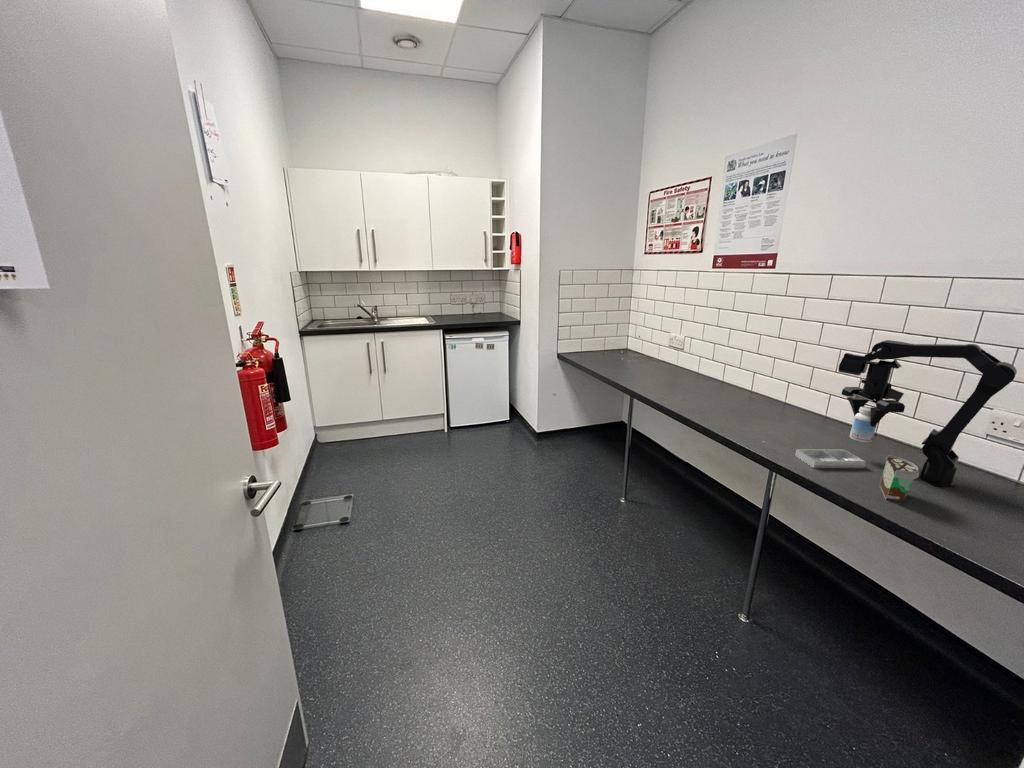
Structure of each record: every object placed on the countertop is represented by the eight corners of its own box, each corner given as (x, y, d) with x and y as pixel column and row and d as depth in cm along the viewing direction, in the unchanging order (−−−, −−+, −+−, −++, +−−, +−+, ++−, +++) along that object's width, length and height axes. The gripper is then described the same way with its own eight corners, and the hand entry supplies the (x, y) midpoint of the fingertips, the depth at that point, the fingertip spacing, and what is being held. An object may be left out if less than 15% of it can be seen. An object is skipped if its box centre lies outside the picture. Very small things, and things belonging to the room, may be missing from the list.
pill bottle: (875, 444, 139) (885, 412, 136) (855, 442, 140) (863, 410, 137) (865, 436, 145) (873, 406, 141) (845, 435, 146) (853, 404, 143)
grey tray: (863, 468, 137) (865, 461, 136) (813, 468, 136) (815, 461, 136) (842, 455, 146) (844, 449, 145) (795, 455, 145) (796, 449, 144)
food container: (915, 509, 114) (926, 476, 112) (886, 502, 118) (896, 470, 115) (905, 489, 124) (914, 459, 122) (878, 483, 128) (887, 454, 125)
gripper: (928, 387, 127) (914, 434, 132) (877, 371, 145) (865, 413, 150) (892, 387, 127) (879, 433, 132) (845, 371, 145) (835, 413, 150)
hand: (864, 422), depth 141 cm, fingers closed on pill bottle, 6 cm apart
